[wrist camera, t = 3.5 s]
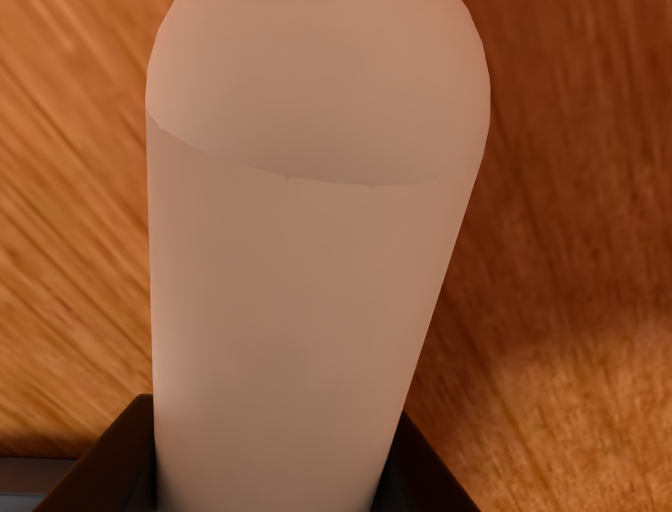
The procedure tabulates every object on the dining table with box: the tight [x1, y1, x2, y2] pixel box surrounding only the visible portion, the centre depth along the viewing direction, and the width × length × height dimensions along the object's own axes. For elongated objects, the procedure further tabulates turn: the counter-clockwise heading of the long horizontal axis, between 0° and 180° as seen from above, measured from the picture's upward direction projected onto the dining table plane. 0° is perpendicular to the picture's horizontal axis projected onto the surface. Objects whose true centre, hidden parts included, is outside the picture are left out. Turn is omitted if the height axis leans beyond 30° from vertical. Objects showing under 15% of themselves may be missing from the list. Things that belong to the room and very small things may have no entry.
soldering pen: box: [145, 0, 490, 512], centre depth 7 cm, size 19×3×3 cm, turn 171°
